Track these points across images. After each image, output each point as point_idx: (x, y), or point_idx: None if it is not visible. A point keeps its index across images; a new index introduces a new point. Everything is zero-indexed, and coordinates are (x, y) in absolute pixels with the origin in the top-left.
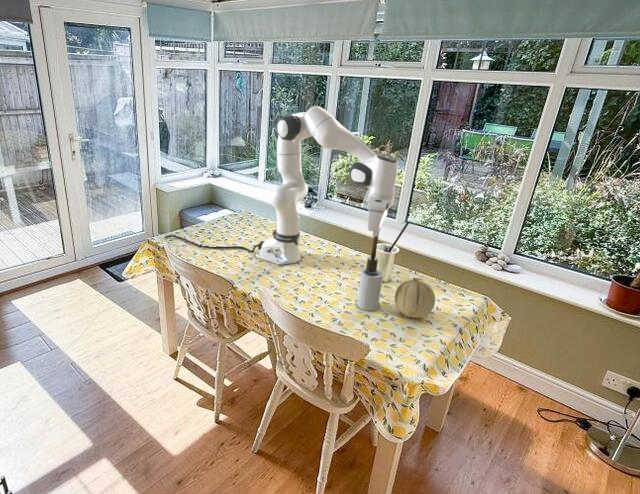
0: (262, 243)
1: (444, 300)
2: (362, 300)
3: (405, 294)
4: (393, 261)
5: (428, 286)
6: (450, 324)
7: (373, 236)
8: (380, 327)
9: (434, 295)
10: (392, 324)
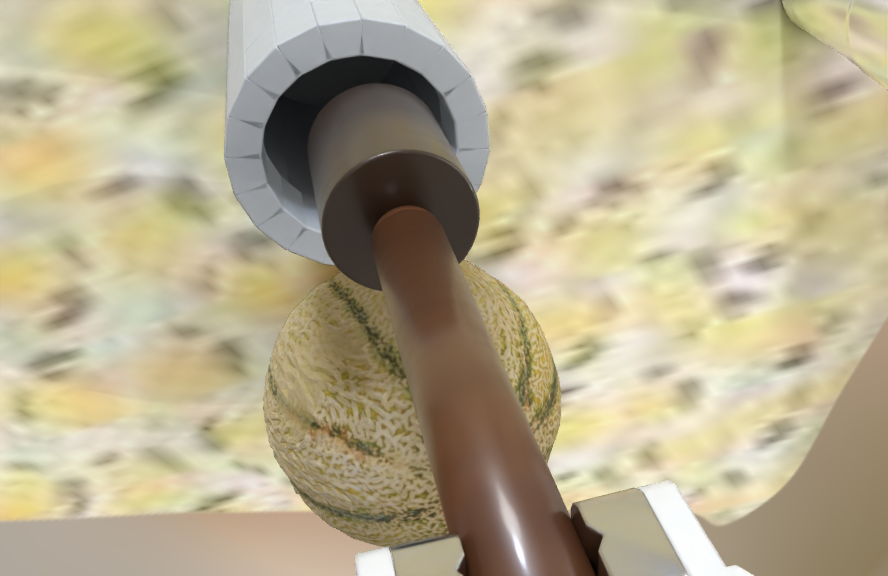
0: None
1: (671, 393)
2: (229, 23)
3: (302, 421)
4: None
5: None
6: None
7: (473, 469)
8: (82, 220)
9: None
10: (186, 266)
